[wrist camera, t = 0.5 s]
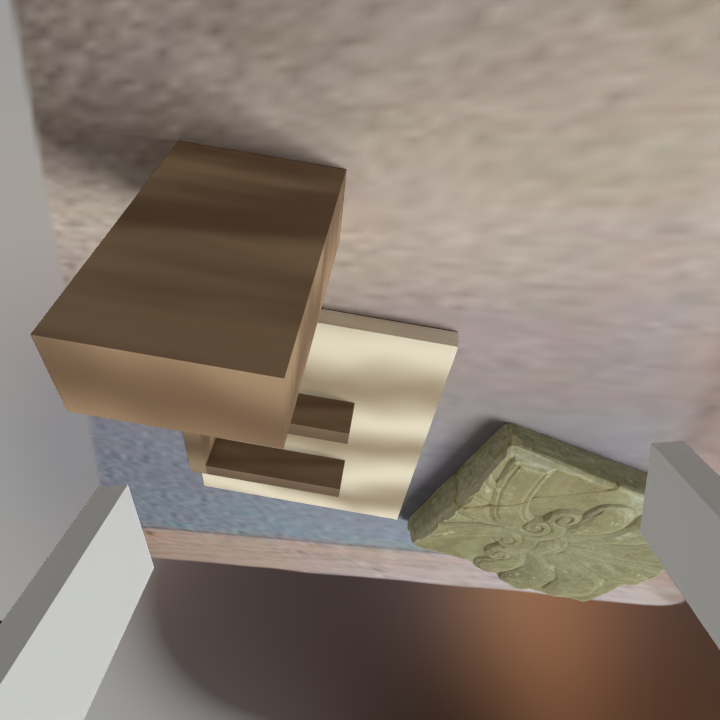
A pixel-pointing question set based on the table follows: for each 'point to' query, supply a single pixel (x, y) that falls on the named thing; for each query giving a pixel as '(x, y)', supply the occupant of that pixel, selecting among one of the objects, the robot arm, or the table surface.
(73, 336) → the brown rectangular block
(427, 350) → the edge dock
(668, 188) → the table surface
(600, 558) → the decorative tile
